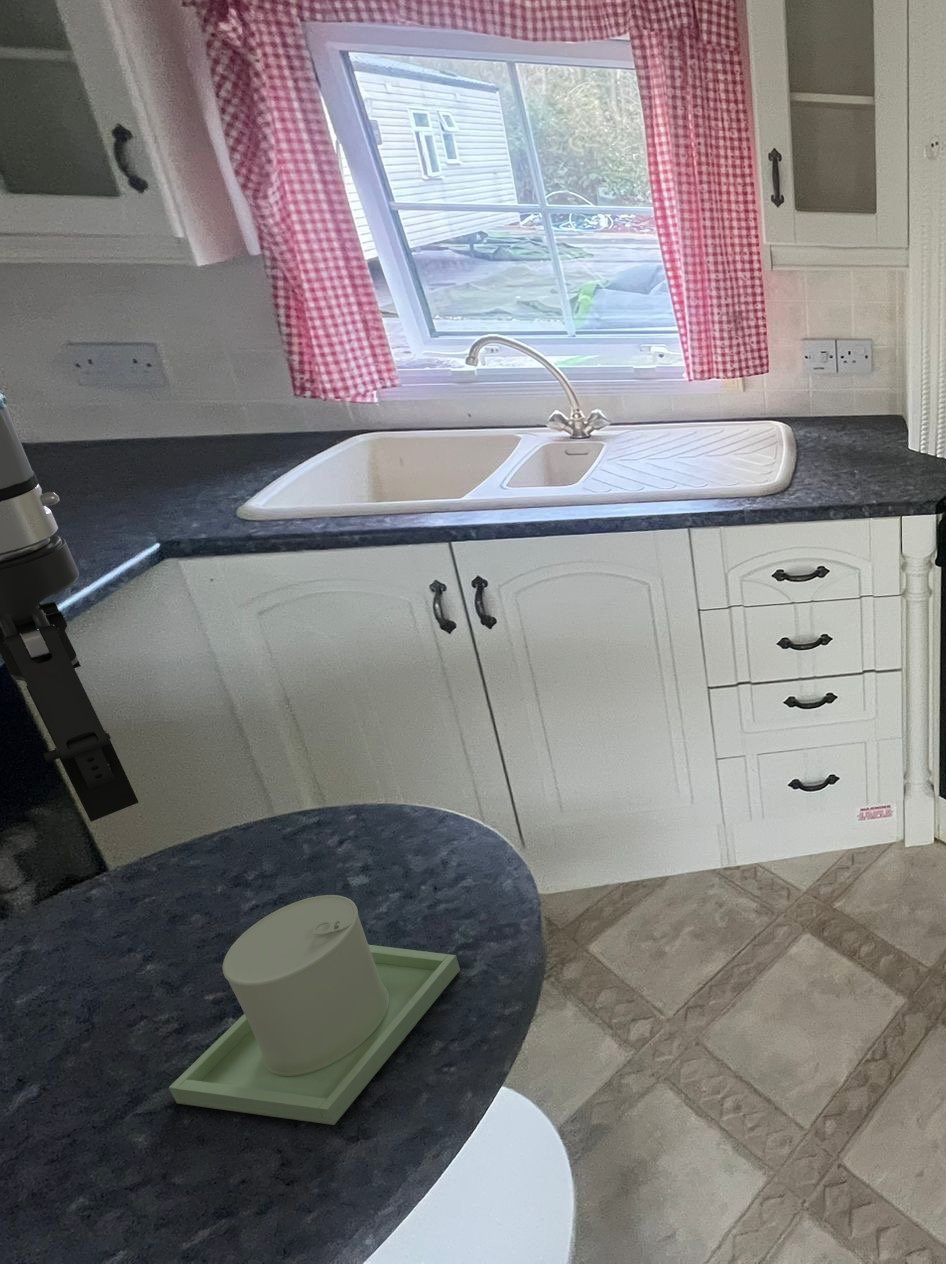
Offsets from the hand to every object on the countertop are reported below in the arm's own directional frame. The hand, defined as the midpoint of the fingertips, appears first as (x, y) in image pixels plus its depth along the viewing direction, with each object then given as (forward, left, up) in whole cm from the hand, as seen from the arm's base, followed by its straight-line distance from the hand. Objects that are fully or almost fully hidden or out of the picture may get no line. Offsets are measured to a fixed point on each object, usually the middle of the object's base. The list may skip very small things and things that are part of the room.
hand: (96, 774), depth 69 cm
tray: (+14, +6, -27) cm, 31 cm away
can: (+14, +6, -26) cm, 30 cm away
